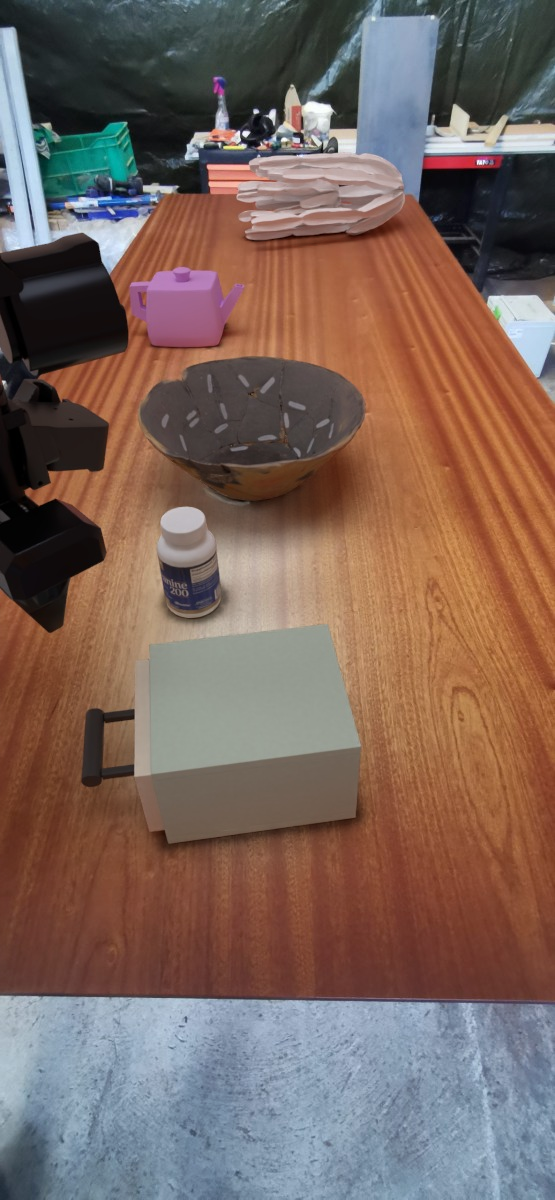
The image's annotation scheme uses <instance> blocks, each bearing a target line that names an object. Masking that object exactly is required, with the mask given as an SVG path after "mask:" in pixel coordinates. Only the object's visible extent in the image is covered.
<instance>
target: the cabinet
mask: <svg viewBox="0 0 555 1200" xmlns="http://www.w3.org/2000/svg"><path fill="white" fill-rule="evenodd" d="M148 650H149V651H148V653H149V654H148V655H149V658H148V659H149V661H150V740H151V776H152V780H153V784H154V788H155V793H156V797H157V801H158V805H159V809H160V813H161V817H162V821H163V825H164V829H165V830H164V832H165V836H166V840H167V843H168V845H171V844H177V843H184V842H191V841H199V840H206V839H213V838H219V837H227V836H232V835H233V836H234V835H241V834H242V835H243V834H249V833H255V832H256V833H257V832H262V831H270V830H271V831H272V830H276V829H284V828H291V827H298V826H305V825H313V824H314V825H315V824H321V823H326V822H335V821H341V820H342V821H343V820H348V819H355V818H356V816H357V806H358V793H359V783H360V781H359V779H360V769H361V768H360V767H361V757H362V756H361V755H362V754H361V753H362V744H361V739H360V737H359V732H358V729H357V725H356V721H355V717H354V714H353V710H352V707H351V703H350V699H349V696H348V692H347V689H346V686H345V685H346V684H345V681H344V678H343V673H342V670H341V667H340V662H339V659H338V655H337V651H336V648H335V644H334V641H333V637H332V634H331V630H330V626H329V624H328V623H324V624H323V623H322V624H315V625H305V626H297V627H296V626H295V627H288V628H280V629H272V630H264V631H256V632H255V631H254V632H245V633H236V634H229V635H220V636H212V637H204V638H195V639H187V640H185V639H184V640H177V641H168V642H160V643H151V644H149V645H148Z"/></svg>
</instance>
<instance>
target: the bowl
mask: <svg viewBox="0 0 555 1200" xmlns="http://www.w3.org/2000/svg"><path fill="white" fill-rule="evenodd" d="M180 375H181V379H178V378H177V379H168V378H163V379H162V380H160V381H159V382H157V383H156V384H155V385H154V386H152V388H151V389H150V390H149V391H148V393H147V394H146V395H145V397H144V398H143V399H142V400H140V403H139V405H138V409H137V421H138V425H139V427H140V431H141V432H142V434H143V435H144V437H145V438H146V439H147V441H148V442H149V443H150V444H151V445H152V446H153V447H154V448H155V449H156V451H158V452H159V453H160V454H161V455H163V456H164V457H165V458H166V459H167V460H169V462H170V463H173V465H175V466H177V467H179V468H180V469H181V470H183V471H185V472H186V473H188V474H190V476H192V477H193V478H195V479H196V480H197V481H200V482H201V483H203V484H204V485H206V486H208V487H210V489H211V488H212V490H214V491H215V492H216V493H218V494H220V495H222V496H224V497H227V498H229V499H231V500H233V499H234V500H240V501H241V500H242V501H245V502H246V501H247V502H248V501H249V502H250V501H251V502H252V501H253V502H255V501H264V500H268V499H275V498H276V497H281V496H285V495H286V494H288V493H290V492H291V491H293V490H295V489H296V488H297V487H299V486H300V485H301V484H303V483H304V482H305V481H307V480H308V479H309V478H310V477H312V476H313V475H314V474H315V473H316V472H317V471H318V470H320V469H321V468H322V467H323V466H324V465H326V464H327V462H329V461H330V460H331V459H332V458H333V457H334V456H335V455H337V454H338V453H340V451H342V450H343V449H344V448H346V446H347V445H348V444H349V443H350V442H351V441H353V439H354V437H355V436H356V435H357V432H358V431H359V430H360V428H361V426H362V425H363V423H364V421H365V417H366V402H365V399H364V396H363V394H362V393H361V391H360V390H359V389H358V387H356V385H355V384H354V383H352V382H351V381H350V380H349V379H348V378H346V376H345V375H342V374H340V372H336V371H334V370H331V369H329V368H327V367H324V366H321V365H318V364H314V363H311V362H306V361H302V360H297V359H289V358H288V359H286V358H284V357H277V356H276V357H275V356H264V355H263V356H261V355H248V356H239V357H231V358H224V359H215V360H209V361H204V362H199V363H196V364H192V365H189V366H187V367H185V368H184V369H183V370H181V372H180ZM285 441H286V442H285Z"/></svg>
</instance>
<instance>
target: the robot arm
mask: <svg viewBox="0 0 555 1200" xmlns="http://www.w3.org/2000/svg"><path fill="white" fill-rule="evenodd" d="M100 248H101V247H100V243H99V242H98V241H96V240H95V239H94V238H92V237H91V236H89V235H88V234H86V233H85V232H77V233H72V234H68V235H64V236H62V237H60V238H58V239H55V240H54V241H50V242H47V243H43V244H37V245H33V246H28V247H23V248H18V249H13V250H7V251H2V252H0V350H1V352H2V354H3V357H4V358H5V359H6V361H7V362H8V363H9V364H16V363H19V362H21V360H22V361H23V363H24V365H25V366H26V368H27V370H28V372H29V373H30V374H31V375H32V376H34V377H38V376H42V375H46V374H49V373H50V374H51V373H53V372H57V371H60V370H64V369H68V368H72V367H75V366H79V365H83V364H86V363H89V362H94V361H97V360H101V359H105V358H109V357H112V356H116V355H120V354H123V353H126V351H127V349H128V346H129V341H130V339H129V333H130V332H129V323H128V322H129V321H128V316H127V312H126V308H125V306H124V305H123V304H122V303H121V302H120V299H119V295H118V292H117V289H116V286H115V283H114V282H113V279H112V277H111V275H110V272H109V271H108V269H107V268H106V267H107V266H105V264H104V263H103V260H102V255H101V254H102V253H101V249H100ZM109 428H110V423H109V422H108V421H107V420H105V419H104V418H103V417H101V416H99V415H98V414H96V413H95V412H93V411H92V410H90V409H88V408H87V407H86V406H84V405H83V404H79V403H76V402H73V401H71V400H70V399H68V398H62V399H60V396H59V393H58V391H57V389H56V387H55V386H54V385H52V384H50V383H49V382H47V381H45V380H44V379H42V378H24V379H23V380H22V382H21V384H20V386H19V387H18V389H17V391H16V392H15V395H14V396H13V398H12V399H10V398H9V397H8V396H7V393H6V389H5V387H4V383H3V379H2V376H1V375H0V590H1V591H2V593H4V594H5V596H6V597H8V599H10V600H11V601H13V602H14V603H15V604H16V605H17V606H18V607H19V608H20V609H21V610H22V611H24V612H25V613H26V614H27V615H28V616H29V617H30V618H31V619H32V620H34V621H35V622H36V623H37V624H38V625H40V626H41V628H42V629H44V630H45V632H47V633H48V634H52V633H54V632H56V631H58V630H59V629H61V628H63V626H64V622H65V615H66V609H67V608H66V607H67V601H68V593H69V587H70V582H71V579H72V578H73V577H75V576H77V575H79V574H81V573H83V572H85V571H87V570H89V569H91V568H94V566H97V565H99V564H101V563H103V562H104V561H105V559H106V556H107V548H106V544H105V539H104V535H103V531H102V530H103V529H102V528H101V527H100V526H99V525H98V524H96V522H94V521H93V520H92V519H90V517H88V516H87V515H86V514H84V513H83V512H82V511H80V509H78V508H77V507H75V506H74V505H73V504H72V503H69V502H66V501H63V500H60V499H58V498H53V499H50V500H49V501H47V502H44V503H42V504H40V505H39V504H38V503H37V502H36V501H34V500H33V499H32V498H31V497H29V496H28V495H27V494H26V492H25V491H26V490H29V489H31V490H32V491H36V490H38V489H42V488H44V487H46V486H48V485H50V484H52V480H51V477H50V475H49V474H50V473H49V472H53V473H54V472H55V473H57V472H70V471H85V470H87V471H89V472H91V473H93V472H95V473H96V472H101V471H102V470H104V469H105V462H106V461H105V459H106V454H107V453H106V452H107V446H108V445H107V444H108V436H109V430H110V429H109Z"/></svg>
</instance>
